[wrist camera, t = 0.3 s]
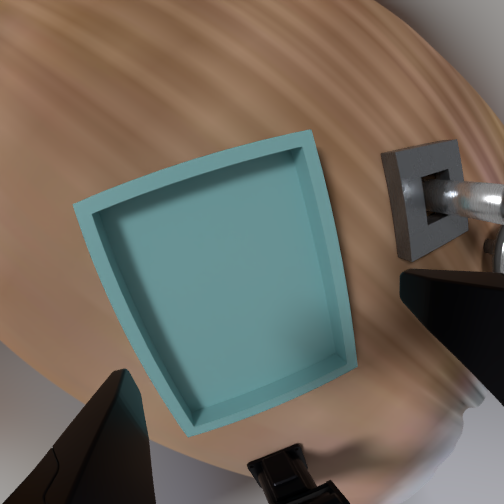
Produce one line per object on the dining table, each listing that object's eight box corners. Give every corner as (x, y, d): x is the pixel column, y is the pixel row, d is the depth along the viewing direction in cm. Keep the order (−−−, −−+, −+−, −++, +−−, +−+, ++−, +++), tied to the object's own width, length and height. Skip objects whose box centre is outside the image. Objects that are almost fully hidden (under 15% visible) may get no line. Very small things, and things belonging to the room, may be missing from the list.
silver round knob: (499, 262, 34) (524, 270, 29) (471, 285, 32) (499, 296, 27) (498, 207, 31) (526, 212, 26) (471, 224, 30) (502, 230, 25)
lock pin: (439, 210, 27) (533, 227, 16) (413, 221, 26) (516, 244, 15) (433, 169, 26) (531, 175, 15) (407, 177, 25) (514, 184, 14)
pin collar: (455, 227, 29) (468, 230, 27) (398, 257, 27) (411, 262, 25) (443, 140, 26) (457, 139, 24) (380, 153, 24) (395, 152, 22)
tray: (341, 351, 27) (357, 366, 24) (184, 415, 24) (187, 437, 21) (293, 135, 22) (311, 129, 19) (85, 202, 19) (72, 204, 16)
